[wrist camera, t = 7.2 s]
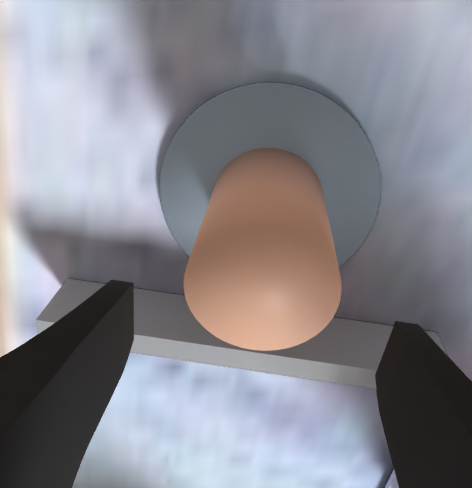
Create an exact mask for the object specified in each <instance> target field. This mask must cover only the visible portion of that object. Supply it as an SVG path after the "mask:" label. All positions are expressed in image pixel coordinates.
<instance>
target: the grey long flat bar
mask: <svg viewBox="0 0 472 488" xmlns="http://www.w3.org/2000/svg"><path fill="white" fill-rule="evenodd" d="M104 285H106V284H102V283H95V282H88V281H82V280H75V279H67V280H66V281H65V283H64V284H63V285H62V287H61V288H60V289H59V290H58V292H57V293H56V294H55V296H54V297H53V298H52V300H51V301H50V302H49V304H48V305H47V306H46V308H45V309H44V310H43V311H42V313H41V314H40V315H39V317H38V318H37V319H36V323H37V329H38V334H39V333H41V332H42V331H44V330H45V329H47V328H48V327H50V326H51V325H53V324H54V323H55V322H57V321H58V320H59V319H61V318H62V317H64V316H65V315H66V314H68V313H69V312H70V311H72V310H73V309H74V308H76V307H77V306H78V305H80V304H81V303H82V302H84V301H85V300H86V299H87V298H89V297H90V296H91V295H93V294H94V293H95V292H96V291H98V290H99V289H100V288H102V287H103V286H104ZM392 329H393V326H391V325H384V324H377V323H370V322H363V321H356V320H349V319H343V318H336V317H333V318H332V320H331V321H330V322H329V324H328V325H327V326H326V327H325V328H324V329H323V330H322V331H321V332H320V333H318V334H317V335H316V336H314V337H313V338H311V339H309V340H307V341H306V342H303V343H301V344H299V345H296V346H293V347H290V348H285V349H280V350H271V351H260V350H250V349H245V348H241V347H238V346H234V345H232V344H229V343H227V342H224V341H223V340H221V339H219V338H217V337H215V336H214V335H213V334H211V333H210V332H208V331H207V330H206V329H205V328H204V327H203V326H202V325H201V324H200V323H199V322H198V321H197V320H196V318H195V317H194V315H193V314H192V312H191V310H190V308H189V306H188V304H187V301H186V298H185V295H178V294H171V293H164V292H157V291H150V290H143V289H137V288H134V341H133V344H132V347H131V350H130V353H136V354H143V355H150V356H156V357H163V358H170V359H176V360H183V361H190V362H196V363H203V364H210V365H216V366H223V367H230V368H237V369H243V370H250V371H257V372H263V373H270V374H277V375H283V376H290V377H297V378H303V379H310V380H317V381H324V382H330V383H337V384H344V385H350V386H357V387H364V388H370V389H376V380H375V374H376V371H377V369H378V366H379V363H380V361H381V358H382V355H383V353H384V350H385V347H386V345H387V342H388V340H389V337H390V334H391V332H392ZM424 331H425V330H424ZM425 332H426V333H427V334H428V335H429V336H430V337H431V338H432V339H433V341H434V342H435V343H436V344H437V345H438V346H439V347H440V348H441V349H442V350H443V351H444V353H445V354H446V355H447V353H446V351H445V349H444V347H443V345H442V342H441V340H440V338H439V336H438V334H437V332H432V331H425ZM447 356H448V355H447Z"/></svg>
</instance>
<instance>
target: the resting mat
mask: <svg viewBox="0 0 472 488" xmlns="http://www.w3.org/2000/svg"><path fill="white" fill-rule="evenodd" d="M260 148H277V149H282V150H285V151H288V152H291V153H293V154H295V155H297V156H299V157H300V158H302V159H303V160H305V161H306V162H307V163H308V164H309V165H310V166H311V167H312V169H313V170H314V171H315V173H316V174H317V176H318V178H319V180H320V183H321V186H322V190H323V195H324V199H325V204H326V209H327V214H328V218H329V223H330V228H331V233H332V238H333V242H334V247H335V252H336V257H337V261H338V266H339V267H340V266H341V265H343V264H344V263H345V262H346V261H347V260H349V259H350V258H351V257H352V256H353V255H354V253H355V252H356V251H357V250H358V249H359V248H360V246H361V245H362V244H363V242H364V241H365V240H366V238H367V236H368V234H369V232H370V231H371V229H372V227H373V224H374V221H375V219H376V216H377V213H378V208H379V204H380V197H381V177H380V170H379V165H378V161H377V158H376V155H375V152H374V150H373V147H372V145H371V143H370V141H369V140H368V138H367V136H366V134H365V133H364V131H363V130H362V128H361V127H360V126H359V124H358V123H357V122H356V121H355V119H354V118H353V117H352V116H351V115H350V114H349V113H348V112H347V111H346V110H345V109H343V108H342V107H341V106H339V105H338V104H337V103H335V102H334V101H332V100H331V99H329V98H327V97H325V96H324V95H322V94H320V93H318V92H316V91H313V90H310V89H307V88H304V87H301V86H296V85H292V84H287V83H273V82H267V83H254V84H249V85H244V86H240V87H236V88H234V89H231V90H228V91H225V92H223V93H221V94H219V95H217V96H215V97H213V98H211V99H210V100H208V101H207V102H205V103H204V104H203V105H201V106H200V107H199V108H197V109H196V110H195V111H194V112H193V113H192V114H191V115H190V116H189V117H188V118H187V119H186V120H185V121H184V123H183V124H182V125H181V127H180V128H179V129H178V130H177V132H176V133H175V135H174V137H173V138H172V140H171V142H170V144H169V146H168V148H167V151H166V153H165V156H164V159H163V163H162V167H161V171H160V182H159V189H160V201H161V206H162V211H163V214H164V217H165V220H166V223H167V225H168V227H169V229H170V231H171V234H172V235H173V237H174V238H175V240H176V241H177V243H178V244H179V246H180V247H181V248H182V249H183V250H184V252H185V253H186V254H187V255H188V256H189V257H190V254H191V252H192V249H193V246H194V243H195V240H196V238H197V235H198V232H199V229H200V226H201V223H202V221H203V218H204V215H205V212H206V209H207V207H208V204H209V201H210V198H211V195H212V192H213V190H214V187H215V184H216V181H217V179H218V177H219V175H220V173H221V172H222V170H223V169H224V168H225V167H226V166H227V164H228V163H230V162H231V161H232V160H233V159H234V158H236V157H238V156H239V155H241V154H243V153H245V152H248V151H251V150H254V149H260Z"/></svg>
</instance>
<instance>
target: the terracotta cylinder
mask: <svg viewBox="0 0 472 488" xmlns="http://www.w3.org/2000/svg"><path fill="white" fill-rule="evenodd" d="M184 294H185V298H186V301H187V304H188V306H189V308H190V310H191V312H192V314H193V315H194V317H195V318H196V320H197V321H198V322H199V323H200V324H201V325H202V326H203V327H204V328H205V329H206V330H207V331H208V332H210V333H211V334H213V335H214V336H215V337H217V338H219V339H221V340H223V341H224V342H227V343H229V344H232V345H234V346H238V347H241V348H245V349H250V350H260V351H271V350H280V349H285V348H290V347H293V346H296V345H299V344H301V343H303V342H306V341H307V340H309V339H311V338H313V337H314V336H316V335H317V334H318V333H320V332H321V331H322V330H323V329H324V328H325V327H326V326H327V325H328V324H329V322H330V321H331V320H332V318H333V317H334V315H335V313H336V311H337V309H338V306H339V304H340V300H341V294H342V283H341V276H340V271H339V266H338V261H337V257H336V252H335V247H334V242H333V238H332V233H331V228H330V223H329V218H328V214H327V209H326V204H325V199H324V195H323V190H322V186H321V183H320V180H319V178H318V176H317V174H316V173H315V171H314V170H313V169H312V167H311V166H310V165H309V164H308V163H307V162H306V161H305V160H303V159H302V158H300V157H299V156H297V155H295V154H293V153H291V152H288V151H285V150H282V149H277V148H260V149H254V150H251V151H248V152H245V153H243V154H241V155H239V156H238V157H236V158H234V159H233V160H232V161H231V162H230V163H228V164H227V166H226V167H225V168H224V169H223V170H222V172H221V173H220V175H219V177H218V179H217V181H216V184H215V187H214V190H213V192H212V195H211V198H210V201H209V204H208V207H207V209H206V212H205V215H204V218H203V221H202V223H201V226H200V229H199V232H198V235H197V238H196V240H195V243H194V246H193V249H192V252H191V254H190V257H189V260H188V263H187V266H186V269H185V273H184Z"/></svg>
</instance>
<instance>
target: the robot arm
mask: <svg viewBox="0 0 472 488" xmlns="http://www.w3.org/2000/svg"><path fill="white" fill-rule="evenodd" d="M133 341H134V283H130V282H123V281H116V280H111V281H110V282H108V283H107V284H106V285H104V286H103V287H102V288H100V289H99V290H98V291H96V292H95V293H94V294H93V295H91V296H90V297H89V298H87V299H86V300H85V301H84V302H82V303H81V304H80V305H78V306H77V307H76V308H74V309H73V310H72V311H70V312H69V313H68V314H66V315H65V316H64V317H62V318H61V319H59V320H58V321H57V322H55V323H54V324H53V325H51V326H50V327H48V328H47V329H45V330H44V331H42V332H41V333H39V334H38V335H36V336H35V337H33V338H32V339H30V340H29V341H27V342H26V343H24V344H23V345H21V346H19V347H18V348H16V349H14V350H13V351H11V352H9V353H7V354H6V355H4V356H2V357H0V488H72V486H73V483H74V480H75V477H76V475H77V472H78V469H79V466H80V464H81V461H82V459H83V456H84V454H85V452H86V449H87V447H88V445H89V443H90V441H91V438H92V436H93V434H94V432H95V430H96V428H97V426H98V424H99V422H100V420H101V418H102V416H103V413H104V411H105V409H106V407H107V405H108V403H109V401H110V399H111V397H112V395H113V393H114V390H115V388H116V386H117V384H118V382H119V380H120V378H121V376H122V373H123V371H124V368H125V365H126V362H127V359H128V356H129V353H130V350H131V347H132V344H133ZM375 380H376V389H377V398H378V405H379V412H380V416H381V420H382V424H383V428H384V432H385V436H386V440H387V444H388V448H389V451H390V455H391V459H392V463H393V467H394V470H393V472H392V474H391V476H390V478H389V480H388V482H387V484H386V486H385V488H472V381H471V380H470V379H469V378H468V377H467V376H466V375H465V374H464V373H463V372H462V371H461V370H460V369H459V368H458V367H457V366H456V365H455V363H454V362H453V361H452V360H451V359H450V358H449V357H448V356H447V355H446V354H445V353H444V351H443V350H442V349H441V348H440V347H439V346H438V345H437V344H436V343H435V342H434V341H433V339H432V338H431V337H430V336H429V335H428V334H427V333H426V332H425V331H424V330H423V329H422V328H421V327H420V326H419V325H418V324H411V323H404V322H398V321H395V324H394V326H393V329H392V332H391V334H390V337H389V340H388V342H387V345H386V347H385V350H384V353H383V355H382V358H381V361H380V363H379V366H378V369H377V371H376V374H375Z"/></svg>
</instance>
